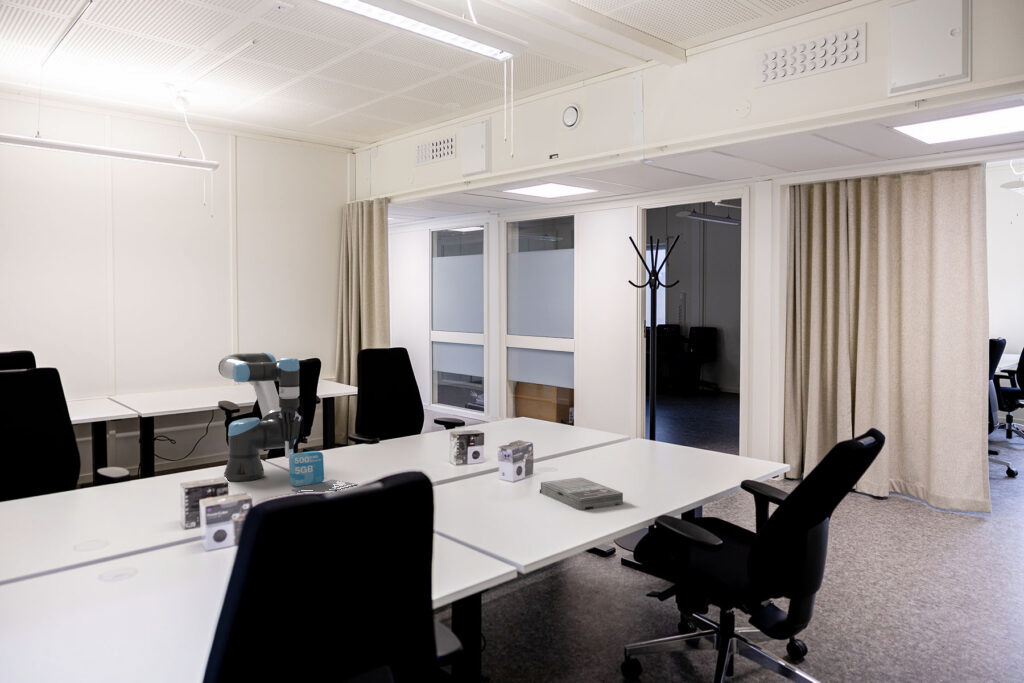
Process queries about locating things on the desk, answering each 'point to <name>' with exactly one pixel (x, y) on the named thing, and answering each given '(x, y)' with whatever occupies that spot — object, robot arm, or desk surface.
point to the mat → (323, 486)
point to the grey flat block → (581, 493)
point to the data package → (306, 468)
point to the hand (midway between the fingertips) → (289, 457)
